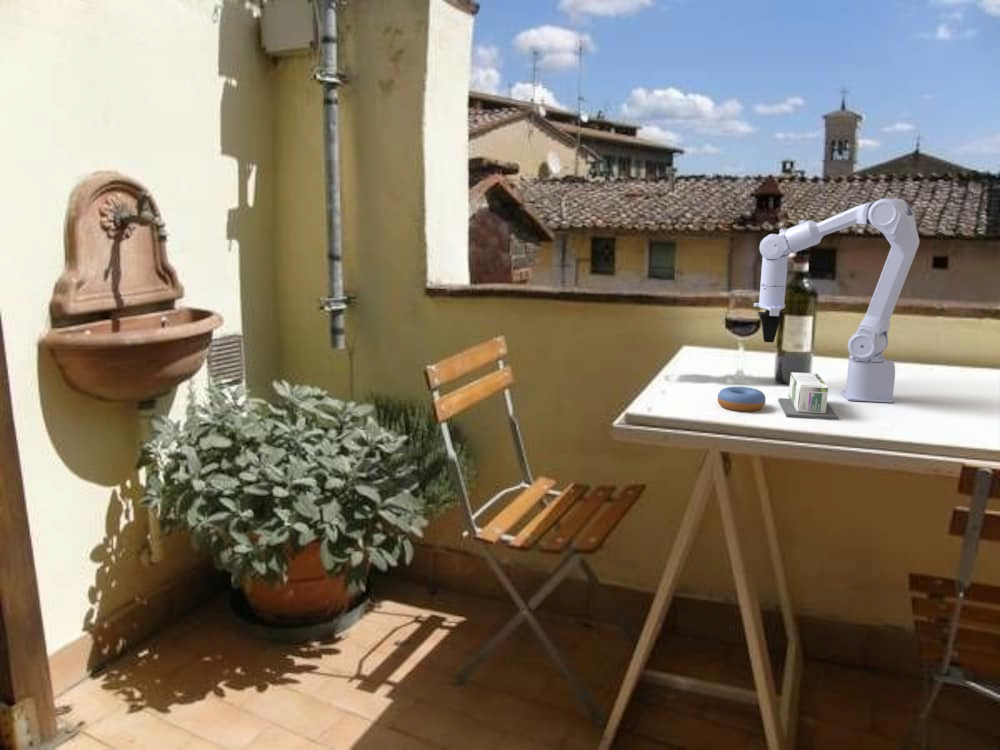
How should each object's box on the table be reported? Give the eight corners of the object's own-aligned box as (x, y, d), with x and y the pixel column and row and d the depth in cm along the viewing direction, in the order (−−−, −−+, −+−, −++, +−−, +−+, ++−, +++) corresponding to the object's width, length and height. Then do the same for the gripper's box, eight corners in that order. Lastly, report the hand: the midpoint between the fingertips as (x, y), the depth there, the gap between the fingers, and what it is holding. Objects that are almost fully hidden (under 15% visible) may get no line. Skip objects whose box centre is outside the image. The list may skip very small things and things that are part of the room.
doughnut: (756, 399, 176) (755, 380, 174) (772, 413, 166) (772, 393, 165) (711, 404, 175) (711, 384, 174) (726, 418, 166) (725, 398, 165)
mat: (825, 403, 173) (826, 400, 173) (838, 419, 160) (838, 417, 160) (778, 400, 175) (778, 398, 175) (786, 416, 162) (786, 414, 162)
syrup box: (814, 397, 176) (827, 414, 162) (787, 396, 177) (797, 412, 163) (817, 372, 175) (830, 387, 161) (789, 371, 176) (800, 385, 162)
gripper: (752, 282, 195) (748, 336, 197) (758, 288, 181) (754, 346, 184) (782, 282, 193) (778, 337, 196) (790, 288, 179) (785, 347, 182)
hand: (768, 341), depth 190 cm, fingers closed
